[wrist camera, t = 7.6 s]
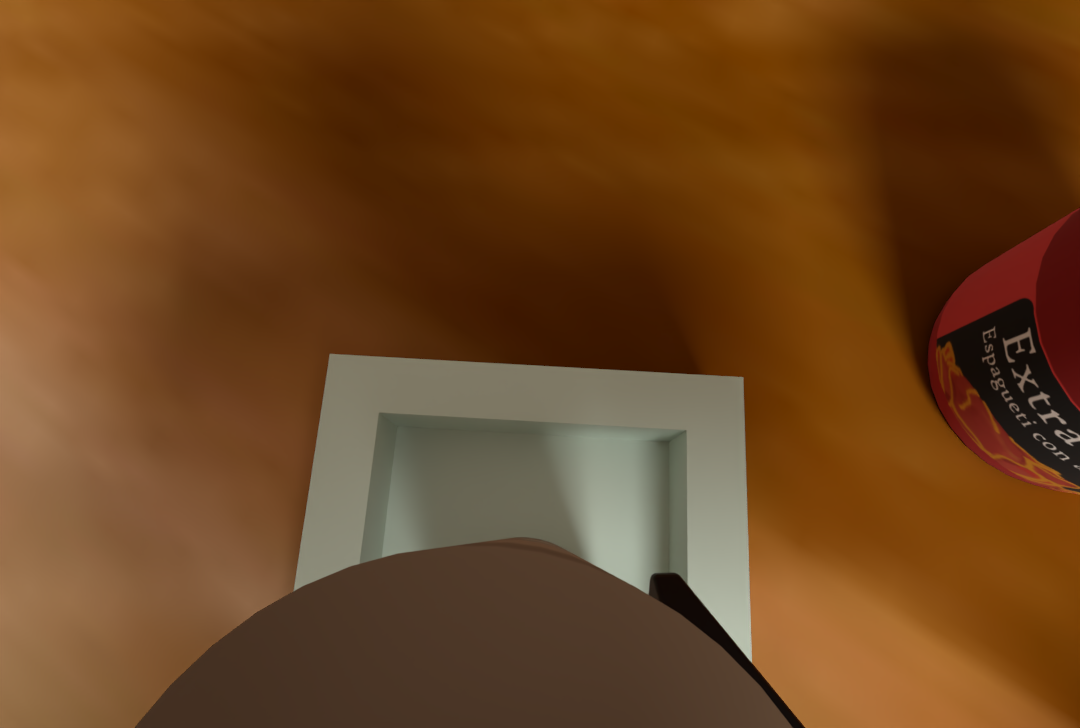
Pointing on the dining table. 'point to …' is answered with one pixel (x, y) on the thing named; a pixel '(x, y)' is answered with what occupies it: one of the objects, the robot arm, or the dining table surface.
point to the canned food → (1017, 359)
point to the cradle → (535, 470)
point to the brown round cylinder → (467, 652)
